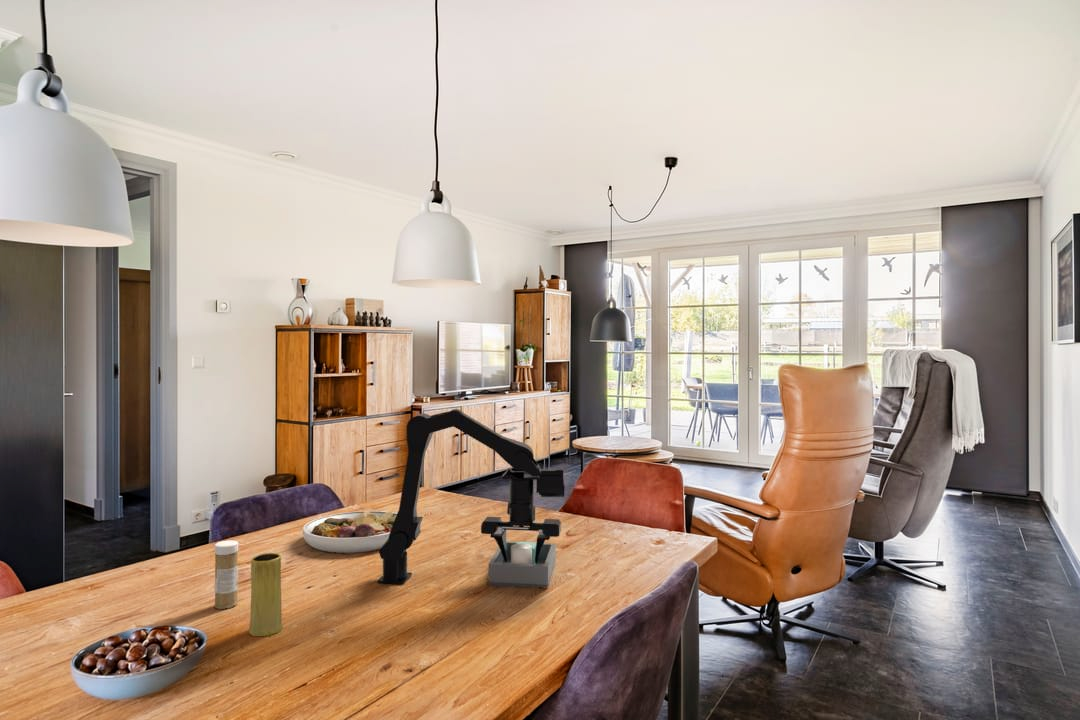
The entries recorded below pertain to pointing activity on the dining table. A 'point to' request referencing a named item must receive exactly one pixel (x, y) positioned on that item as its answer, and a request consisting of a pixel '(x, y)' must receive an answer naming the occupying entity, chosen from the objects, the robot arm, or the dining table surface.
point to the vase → (265, 595)
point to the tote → (522, 569)
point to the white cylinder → (521, 554)
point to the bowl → (349, 531)
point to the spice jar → (226, 574)
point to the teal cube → (532, 550)
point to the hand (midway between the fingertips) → (521, 562)
